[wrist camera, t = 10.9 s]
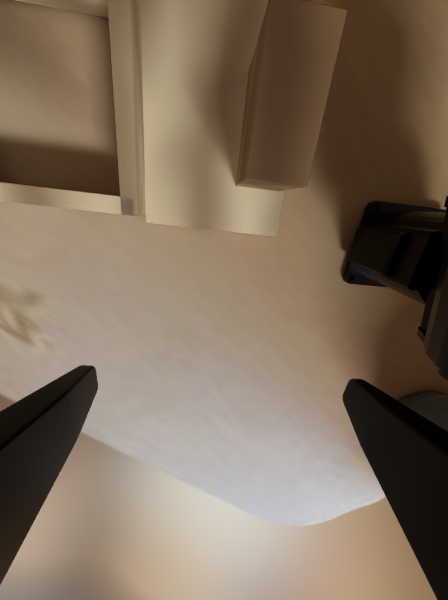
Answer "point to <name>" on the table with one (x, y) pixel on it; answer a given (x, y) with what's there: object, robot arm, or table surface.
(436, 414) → the bottle
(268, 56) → the hollow rectangular frame
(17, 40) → the table surface
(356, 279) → the robot arm
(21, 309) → the table surface
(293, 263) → the table surface
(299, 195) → the table surface
